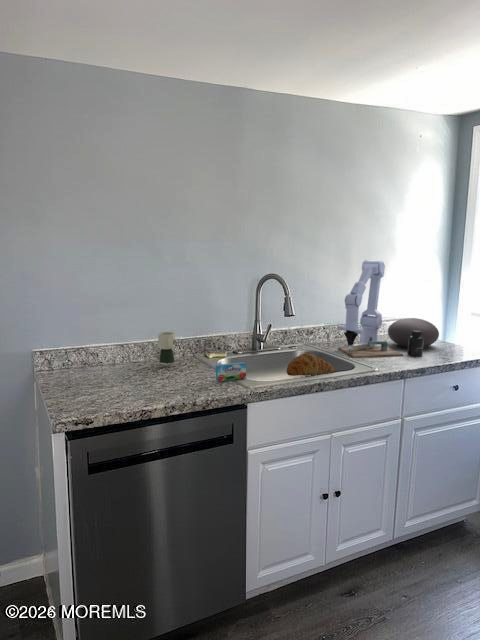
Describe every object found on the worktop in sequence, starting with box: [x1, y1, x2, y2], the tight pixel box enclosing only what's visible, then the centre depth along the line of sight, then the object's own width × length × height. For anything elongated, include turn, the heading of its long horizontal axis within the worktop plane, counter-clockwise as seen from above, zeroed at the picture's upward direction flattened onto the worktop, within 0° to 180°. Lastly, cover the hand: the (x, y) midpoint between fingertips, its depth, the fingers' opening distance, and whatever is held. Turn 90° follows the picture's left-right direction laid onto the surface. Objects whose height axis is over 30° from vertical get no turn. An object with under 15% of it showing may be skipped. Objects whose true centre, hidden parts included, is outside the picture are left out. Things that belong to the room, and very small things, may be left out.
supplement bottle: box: [406, 330, 424, 358], centre depth 220 cm, size 7×7×12 cm
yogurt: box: [215, 361, 247, 383], centre depth 177 cm, size 12×2×6 cm, turn 114°
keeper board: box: [338, 340, 404, 359], centre depth 226 cm, size 18×25×5 cm
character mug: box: [157, 331, 176, 365], centre depth 199 cm, size 11×7×13 cm, turn 19°
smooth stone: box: [387, 317, 440, 348], centre depth 240 cm, size 25×25×15 cm
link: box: [349, 337, 374, 351], centre depth 228 cm, size 15×4×5 cm, turn 122°
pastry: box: [286, 352, 336, 377], centre depth 189 cm, size 21×13×8 cm, turn 112°
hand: (350, 346), depth 227 cm, fingers closed
